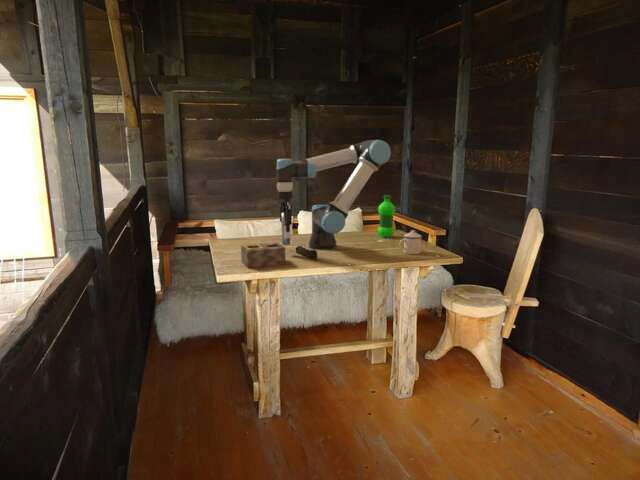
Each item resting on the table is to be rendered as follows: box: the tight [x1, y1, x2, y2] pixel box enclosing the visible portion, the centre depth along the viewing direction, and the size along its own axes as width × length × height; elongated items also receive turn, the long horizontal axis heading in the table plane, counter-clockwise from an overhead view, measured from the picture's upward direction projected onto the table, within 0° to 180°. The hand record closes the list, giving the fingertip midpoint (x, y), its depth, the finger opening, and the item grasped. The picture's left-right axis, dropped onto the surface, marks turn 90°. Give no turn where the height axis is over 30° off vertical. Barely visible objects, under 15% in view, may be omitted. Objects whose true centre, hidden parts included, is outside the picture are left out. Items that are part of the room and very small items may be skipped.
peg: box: [281, 212, 291, 246], centre depth 240 cm, size 4×4×16 cm
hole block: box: [240, 242, 286, 269], centre depth 225 cm, size 18×12×8 cm, turn 112°
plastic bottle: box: [377, 194, 396, 238], centre depth 286 cm, size 10×10×25 cm
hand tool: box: [295, 245, 318, 261], centre depth 239 cm, size 19×4×5 cm, turn 27°
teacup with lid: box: [399, 229, 423, 255], centre depth 248 cm, size 12×9×12 cm
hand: (286, 237), depth 240 cm, fingers closed on peg, 4 cm apart
